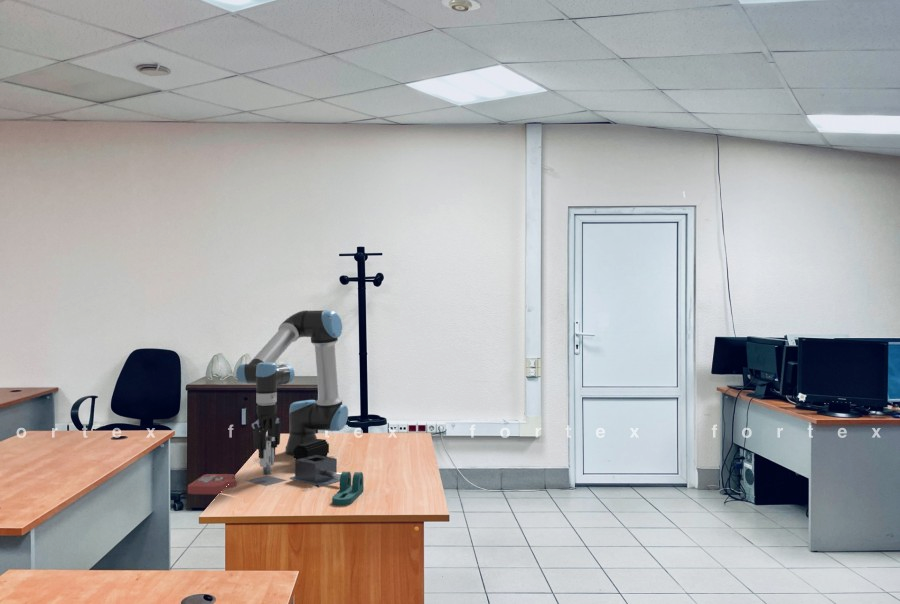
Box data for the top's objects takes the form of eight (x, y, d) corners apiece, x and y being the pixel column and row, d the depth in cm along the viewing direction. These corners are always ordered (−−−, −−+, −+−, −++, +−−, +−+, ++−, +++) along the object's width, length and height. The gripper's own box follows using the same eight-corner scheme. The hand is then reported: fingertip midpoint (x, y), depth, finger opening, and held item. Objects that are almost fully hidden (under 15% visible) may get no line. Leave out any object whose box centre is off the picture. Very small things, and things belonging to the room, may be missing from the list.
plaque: (227, 484, 247) (185, 484, 248) (227, 495, 247) (185, 495, 248) (244, 472, 265) (204, 472, 265) (244, 482, 265) (204, 482, 265)
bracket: (345, 491, 253) (345, 469, 253) (363, 492, 252) (363, 470, 252) (329, 505, 235) (329, 482, 235) (349, 506, 234) (349, 483, 234)
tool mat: (245, 482, 264) (245, 480, 264) (266, 476, 272) (266, 475, 272) (266, 487, 257) (266, 485, 257) (287, 481, 265) (287, 480, 265)
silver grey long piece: (258, 473, 266) (257, 435, 265) (264, 471, 268) (264, 434, 268) (270, 476, 262) (269, 437, 261) (276, 474, 264) (276, 436, 264)
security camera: (333, 462, 298) (333, 438, 298) (306, 471, 281) (306, 446, 281) (319, 460, 300) (319, 437, 300) (292, 469, 284) (292, 445, 284)
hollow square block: (289, 480, 267) (289, 459, 267) (313, 474, 277) (313, 453, 277) (331, 489, 254) (331, 467, 254) (354, 482, 263) (354, 461, 263)
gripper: (255, 407, 256) (256, 471, 256) (289, 401, 269) (290, 462, 269) (242, 405, 260) (243, 468, 261) (276, 400, 273) (277, 460, 273)
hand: (267, 465), depth 265 cm, fingers closed on silver grey long piece, 3 cm apart
